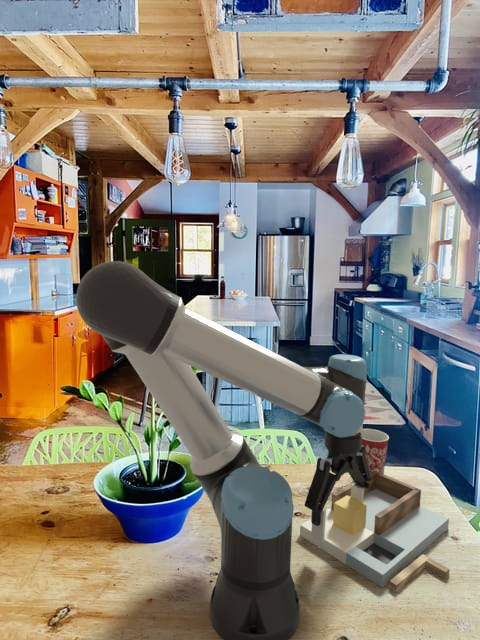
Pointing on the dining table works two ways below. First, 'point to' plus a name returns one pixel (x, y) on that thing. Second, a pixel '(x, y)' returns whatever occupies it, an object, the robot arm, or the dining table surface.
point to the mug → (375, 449)
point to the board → (380, 539)
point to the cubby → (393, 487)
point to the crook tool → (417, 571)
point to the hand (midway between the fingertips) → (337, 525)
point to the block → (349, 514)
